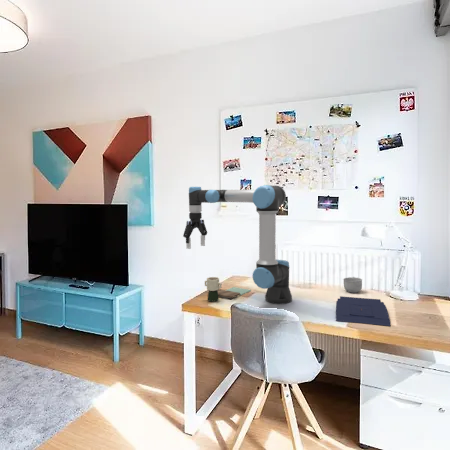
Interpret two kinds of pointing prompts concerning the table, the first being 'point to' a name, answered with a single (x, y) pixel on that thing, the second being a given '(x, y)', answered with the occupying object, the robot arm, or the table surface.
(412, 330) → the table surface
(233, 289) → the mat
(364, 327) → the table surface
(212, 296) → the character mug
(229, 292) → the walnut slab
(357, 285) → the teacup
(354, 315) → the folded navy cloth
